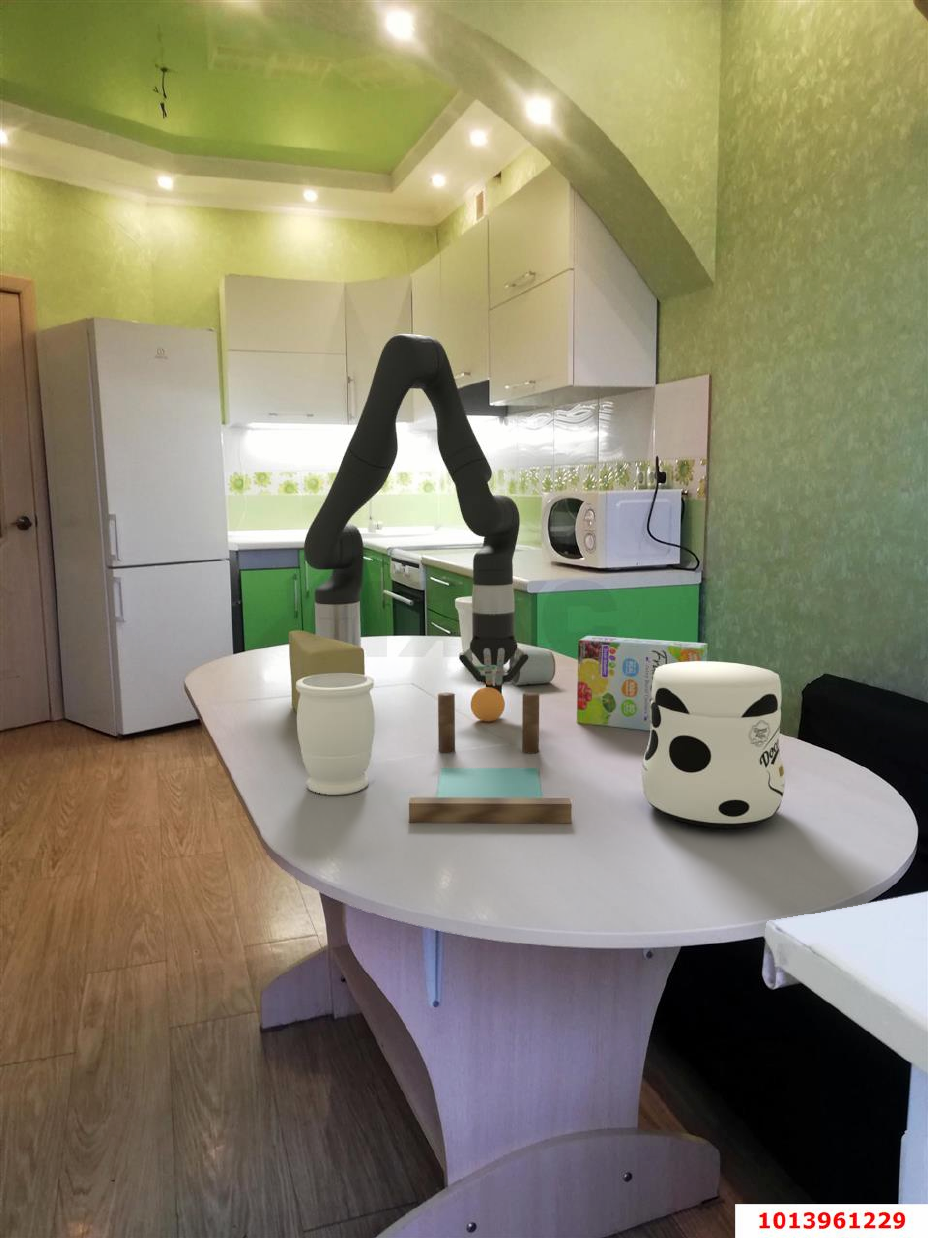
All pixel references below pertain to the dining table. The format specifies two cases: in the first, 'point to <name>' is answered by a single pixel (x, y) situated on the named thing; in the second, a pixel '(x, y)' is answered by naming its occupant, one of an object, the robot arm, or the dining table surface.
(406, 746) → the dining table surface
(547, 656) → the ceramic mug
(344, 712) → the jar
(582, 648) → the snack box
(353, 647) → the cheese
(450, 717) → the left post
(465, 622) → the cup
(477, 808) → the rail
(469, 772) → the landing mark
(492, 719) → the ball
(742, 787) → the spotted treat canister
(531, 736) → the right post
